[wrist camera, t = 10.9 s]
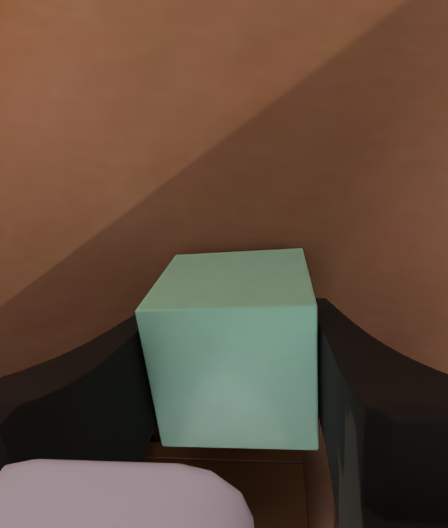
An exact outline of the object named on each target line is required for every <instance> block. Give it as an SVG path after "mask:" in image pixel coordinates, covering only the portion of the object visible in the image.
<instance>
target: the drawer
mask: <svg viewBox="0 0 448 528" xmlns="http://www.w3.org/2000/svg"><path fill="white" fill-rule="evenodd" d="M143 462H150V463H179V464H184V465H188V466H192V467H197V468H201V469H205V470H210V471H212V472H213V473H215V474H216V475H218V476H219V477H221V478H222V479H223V480H225V481H226V482H228V483H229V484H230V485H232V486H233V487H235V488H236V489H237V490H238V491H240V492H241V493H242V495H243V497H244V500H245V502H246V504H247V506H248V508H249V510H250V512H251V514H252V516H253V520H254V528H309V524H308V513H307V502H306V492H305V481H304V470H303V459H302V450H287V449H248V448H209V447H170V446H162V443H161V442H149V445H148V448H147V451H146V454H145V457H144V461H143ZM334 528H338V524H337V517H336V510H335V511H334Z"/></svg>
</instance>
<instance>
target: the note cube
mask: <svg viewBox="0 0 448 528" xmlns="http://www.w3.org/2000/svg"><path fill="white" fill-rule="evenodd" d="M135 315H136V320H137V324H138V329H139V334H140V339H141V344H142V349H143V354H144V359H145V364H146V369H147V374H148V379H149V384H150V389H151V394H152V399H153V403H154V408H155V413H156V418H157V423H158V428H159V433H160V438H161V443H162V446H170V447H209V448H248V449H287V450H318V448H319V428H318V318H317V303H316V299H315V295H314V291H313V287H312V283H311V279H310V275H309V271H308V267H307V263H306V260H305V256H304V252H303V249H302V248H294V249H275V250H257V251H238V252H219V253H200V254H182V255H175V257H174V258H173V259H172V261H171V262H170V263H169V265H168V266H167V268H166V269H165V270H164V272H163V273H162V274H161V276H160V277H159V279H158V280H157V281H156V283H155V284H154V285H153V287H152V288H151V289H150V291H149V292H148V294H147V295H146V296H145V298H144V299H143V300H142V302H141V303H140V305H139V306H138V307H137V309H136V310H135Z"/></svg>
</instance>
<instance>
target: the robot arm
mask: <svg viewBox="0 0 448 528" xmlns="http://www.w3.org/2000/svg"><path fill="white" fill-rule="evenodd" d="M316 303H317V318H318V416H319V420H320V424H321V428H322V432H323V436H324V440H325V444H326V449H327V454H328V460H329V467H330V474H331V481H332V488H333V495H334V502H335V510H336V517H337V524H338V528H448V374H445V373H443V372H440V371H438V370H435V369H433V368H431V367H428V366H426V365H424V364H422V363H419V362H417V361H415V360H413V359H411V358H409V357H407V356H405V355H403V354H401V353H399V352H397V351H395V350H394V349H392V348H390V347H388V346H386V345H385V344H383V343H381V342H380V341H378V340H377V339H375V338H374V337H372V336H371V335H369V334H368V333H367V332H365V331H364V330H362V329H361V328H360V327H358V326H357V325H356V324H354V323H353V322H352V321H351V320H349V319H348V318H347V317H346V316H345V315H343V314H342V313H341V312H340V311H339V310H338V309H337V308H336V307H335V306H333V305H332V304H331V303H330V302H329V301H328V300H327V299H326V298H316ZM156 424H157V418H156V413H155V408H154V403H153V399H152V394H151V389H150V384H149V379H148V374H147V369H146V364H145V359H144V354H143V349H142V344H141V339H140V334H139V329H138V324H137V320H136V315H133V316H132V317H130V318H128V319H127V320H125V321H124V322H122V323H120V324H119V325H117V326H116V327H114V328H112V329H111V330H109V331H107V332H105V333H104V334H102V335H100V336H98V337H97V338H95V339H93V340H91V341H90V342H88V343H86V344H84V345H82V346H80V347H78V348H76V349H74V350H72V351H70V352H67V353H65V354H63V355H61V356H59V357H56V358H54V359H51V360H49V361H46V362H44V363H41V364H38V365H36V366H33V367H30V368H28V369H25V370H22V371H20V372H17V373H13V374H10V375H7V376H4V377H1V378H0V528H254V520H253V516H252V514H251V512H250V510H249V508H248V506H247V504H246V502H245V500H244V497H243V495H242V493H241V492H240V491H238V490H237V489H236V488H235V487H233V486H232V485H230V484H229V483H228V482H226V481H225V480H223V479H222V478H221V477H219V476H218V475H216V474H215V473H213V472H212V471H210V470H205V469H201V468H197V467H192V466H188V465H184V464H179V463H150V462H143V461H144V457H145V454H146V451H147V448H148V445H149V442H150V439H151V437H152V434H153V432H154V429H155V427H156Z"/></svg>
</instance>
